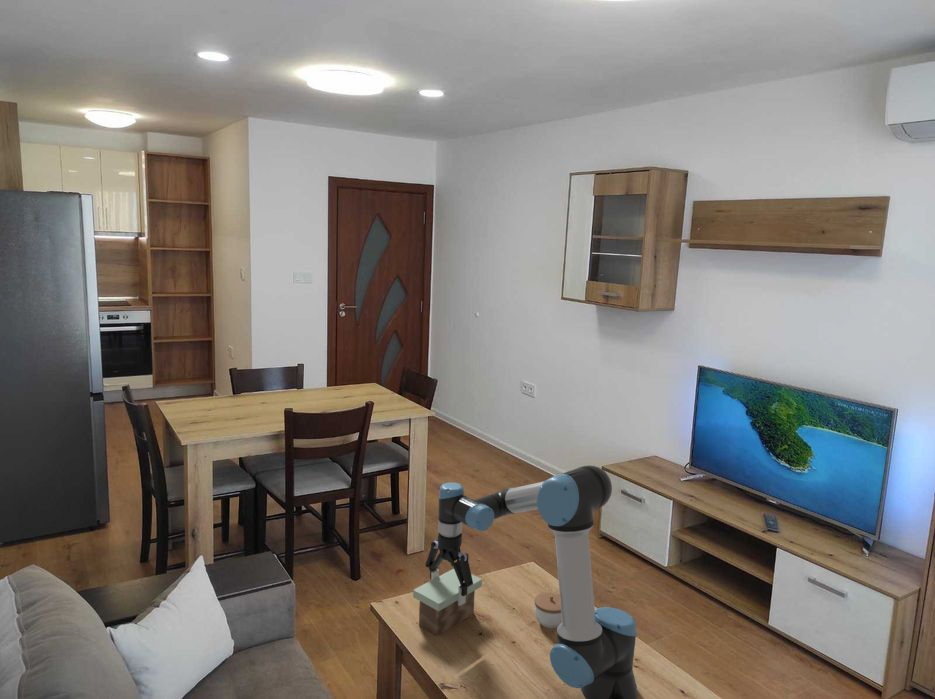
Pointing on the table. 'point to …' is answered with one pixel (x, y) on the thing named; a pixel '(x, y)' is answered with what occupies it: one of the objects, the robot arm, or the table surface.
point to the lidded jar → (548, 609)
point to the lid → (443, 590)
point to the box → (445, 615)
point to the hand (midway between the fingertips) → (447, 596)
